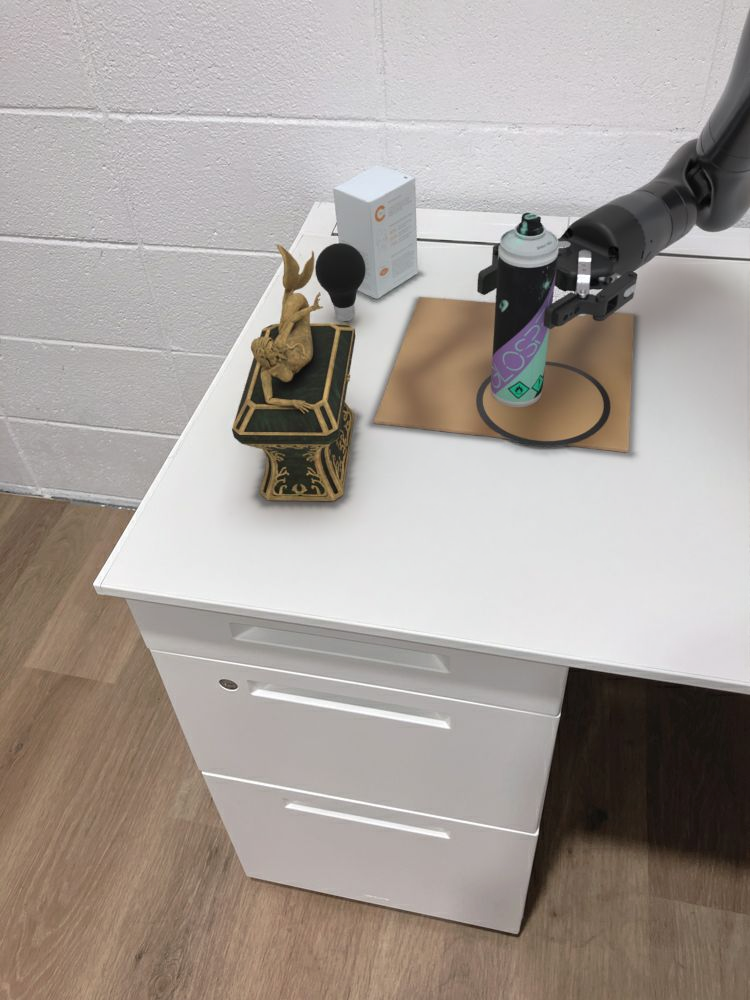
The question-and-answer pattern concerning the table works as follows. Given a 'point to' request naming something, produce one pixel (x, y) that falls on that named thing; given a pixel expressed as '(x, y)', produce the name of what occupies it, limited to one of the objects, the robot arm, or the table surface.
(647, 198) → the robot arm
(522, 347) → the spray can
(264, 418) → the decorative box
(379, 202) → the small box
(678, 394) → the table surface
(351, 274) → the light bulb
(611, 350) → the drawing board
